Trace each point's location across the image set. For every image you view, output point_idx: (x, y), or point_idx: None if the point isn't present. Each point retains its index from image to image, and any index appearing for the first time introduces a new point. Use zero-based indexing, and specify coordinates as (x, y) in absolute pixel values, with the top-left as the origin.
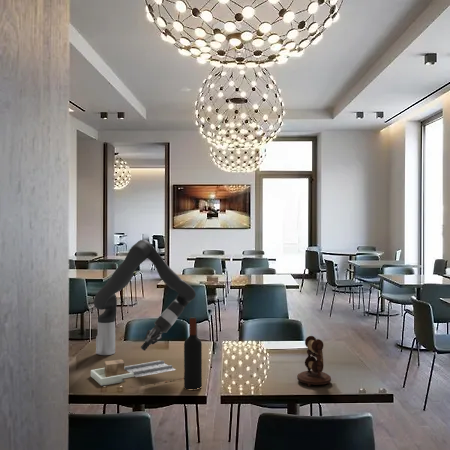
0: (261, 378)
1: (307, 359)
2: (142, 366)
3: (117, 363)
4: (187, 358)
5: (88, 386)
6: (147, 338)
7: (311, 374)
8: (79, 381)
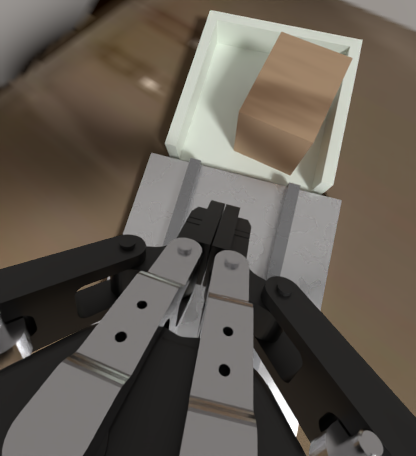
0: None
1: None
2: (264, 278)
3: (259, 81)
4: None
5: (242, 7)
6: (226, 280)
7: None
8: (321, 11)
